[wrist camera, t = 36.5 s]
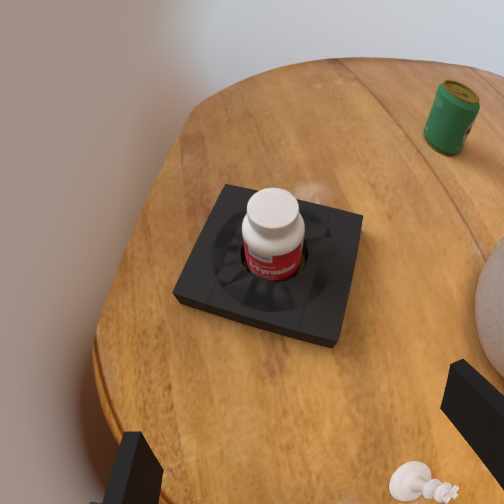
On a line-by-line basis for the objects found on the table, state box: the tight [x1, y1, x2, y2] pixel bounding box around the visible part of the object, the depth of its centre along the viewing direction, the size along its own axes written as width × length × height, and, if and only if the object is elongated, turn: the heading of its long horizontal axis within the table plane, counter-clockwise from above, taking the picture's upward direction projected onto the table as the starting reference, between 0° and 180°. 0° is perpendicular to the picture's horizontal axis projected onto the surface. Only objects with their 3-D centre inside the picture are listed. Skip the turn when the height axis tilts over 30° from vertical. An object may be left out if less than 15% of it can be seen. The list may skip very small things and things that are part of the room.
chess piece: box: [389, 461, 459, 504], centre depth 19 cm, size 5×5×10 cm
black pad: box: [172, 184, 363, 348], centre depth 36 cm, size 18×16×3 cm
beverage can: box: [424, 80, 480, 155], centre depth 43 cm, size 8×8×12 cm
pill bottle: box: [242, 188, 305, 283], centre depth 33 cm, size 6×6×11 cm
